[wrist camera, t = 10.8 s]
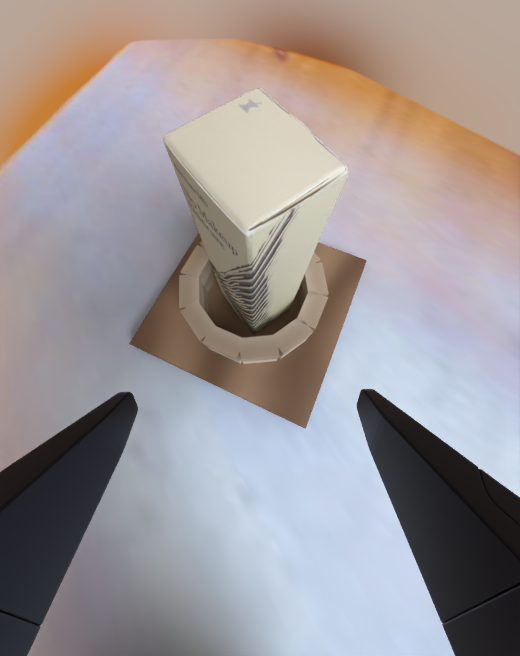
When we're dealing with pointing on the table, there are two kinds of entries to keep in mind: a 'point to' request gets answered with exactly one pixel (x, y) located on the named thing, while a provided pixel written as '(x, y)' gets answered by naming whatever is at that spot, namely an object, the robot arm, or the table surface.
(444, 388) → the table surface
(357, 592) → the table surface
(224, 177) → the box
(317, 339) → the ring socket
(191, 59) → the table surface
